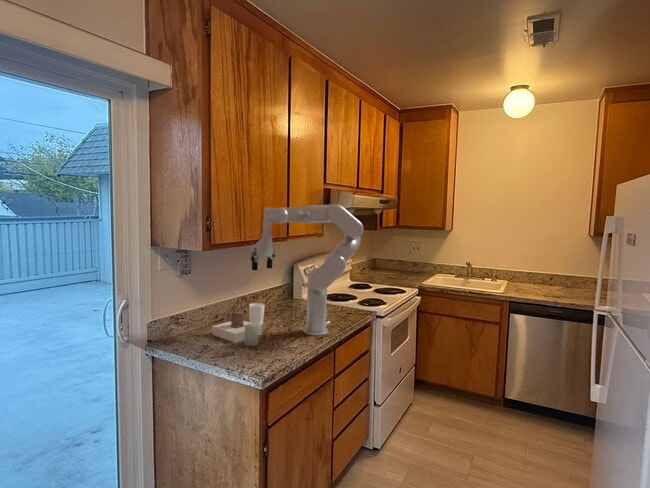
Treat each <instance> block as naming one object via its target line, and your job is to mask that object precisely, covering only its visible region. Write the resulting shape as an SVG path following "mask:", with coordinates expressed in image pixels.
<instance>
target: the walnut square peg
mask: <svg viewBox="0 0 650 488" xmlns="http://www.w3.org/2000/svg"><path fill="white" fill-rule="evenodd" d="M230 315H231V316H230V319H231V327H233V328H236V329H237V328H240V327H244V321H245V313H244V312H242V311H238V310H236V311H234V312H231V314H230Z"/></svg>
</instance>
